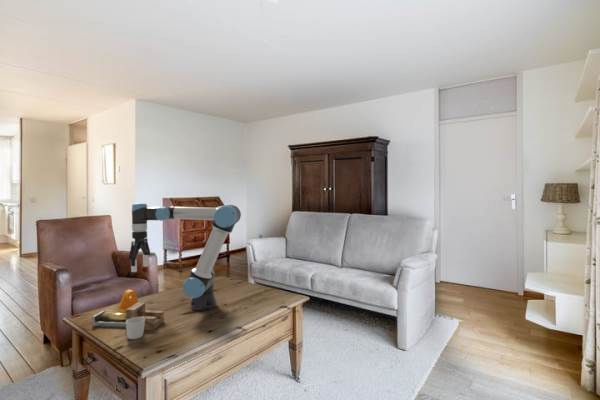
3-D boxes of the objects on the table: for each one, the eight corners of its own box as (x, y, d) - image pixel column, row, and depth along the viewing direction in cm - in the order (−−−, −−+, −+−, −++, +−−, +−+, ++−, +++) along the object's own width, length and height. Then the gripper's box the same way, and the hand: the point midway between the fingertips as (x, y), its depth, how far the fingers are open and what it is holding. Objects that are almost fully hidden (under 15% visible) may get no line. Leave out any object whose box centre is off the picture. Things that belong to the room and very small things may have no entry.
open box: (163, 321, 170) (164, 303, 170) (153, 329, 159) (154, 310, 159) (137, 320, 170) (137, 302, 170) (125, 328, 159) (126, 309, 159)
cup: (132, 331, 157) (132, 314, 157) (149, 331, 158) (149, 314, 158) (122, 341, 146) (122, 323, 146) (140, 341, 147) (140, 323, 147)
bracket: (123, 316, 176) (124, 294, 176) (118, 313, 180) (118, 291, 180) (143, 311, 184) (143, 290, 184) (137, 308, 189) (138, 287, 188)
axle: (133, 321, 167) (134, 312, 168) (128, 323, 163) (129, 314, 163) (106, 320, 168) (107, 311, 168) (101, 322, 163) (102, 313, 164)
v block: (135, 321, 169) (135, 311, 169) (126, 327, 161) (126, 317, 161) (102, 320, 169) (103, 310, 169) (92, 326, 161) (92, 316, 161)
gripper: (143, 228, 193) (143, 264, 193) (120, 233, 168) (121, 274, 168) (155, 228, 193) (156, 264, 193) (135, 233, 168) (135, 274, 168)
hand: (140, 269), depth 181 cm, fingers open, 13 cm apart
